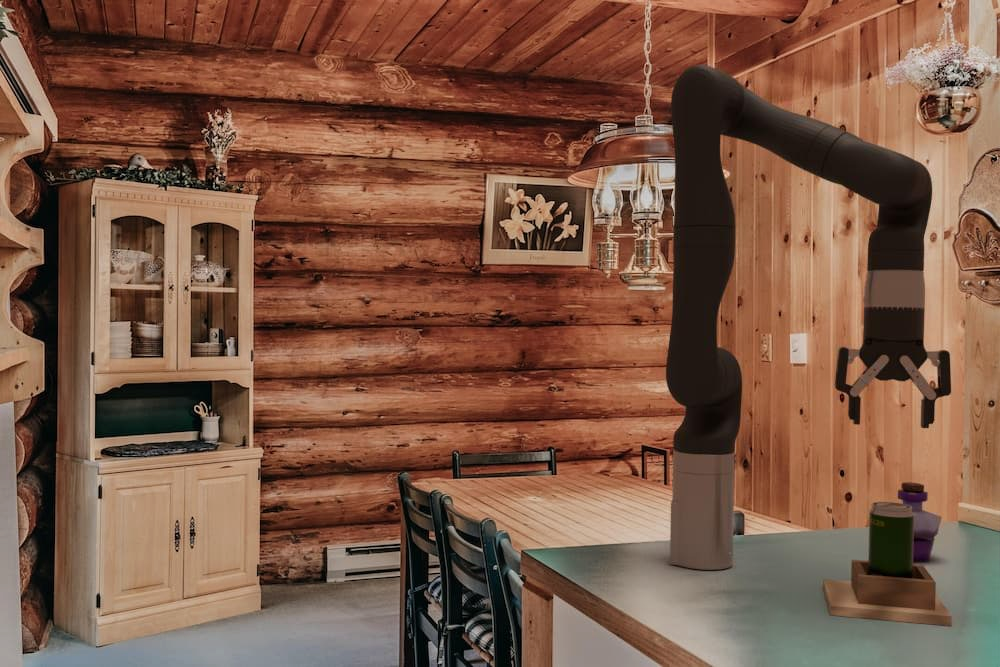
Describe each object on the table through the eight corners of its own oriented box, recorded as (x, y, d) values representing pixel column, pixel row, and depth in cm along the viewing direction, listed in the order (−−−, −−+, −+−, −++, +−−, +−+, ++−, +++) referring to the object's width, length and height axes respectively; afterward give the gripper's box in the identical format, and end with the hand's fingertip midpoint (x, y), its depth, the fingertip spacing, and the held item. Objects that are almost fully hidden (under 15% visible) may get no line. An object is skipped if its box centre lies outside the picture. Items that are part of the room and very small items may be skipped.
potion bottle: (870, 555, 149) (871, 480, 149) (904, 549, 154) (906, 476, 154) (918, 567, 142) (920, 489, 142) (953, 561, 146) (954, 485, 146)
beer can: (896, 605, 118) (897, 511, 118) (859, 594, 123) (860, 503, 123) (921, 599, 121) (922, 507, 121) (884, 588, 126) (885, 500, 125)
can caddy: (830, 615, 118) (831, 578, 118) (822, 587, 130) (823, 554, 130) (951, 625, 114) (952, 587, 114) (931, 596, 126) (932, 562, 126)
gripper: (839, 303, 123) (836, 426, 123) (957, 305, 119) (953, 432, 119) (835, 305, 130) (832, 420, 131) (946, 307, 126) (943, 426, 127)
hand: (890, 425), depth 125 cm, fingers open, 8 cm apart
